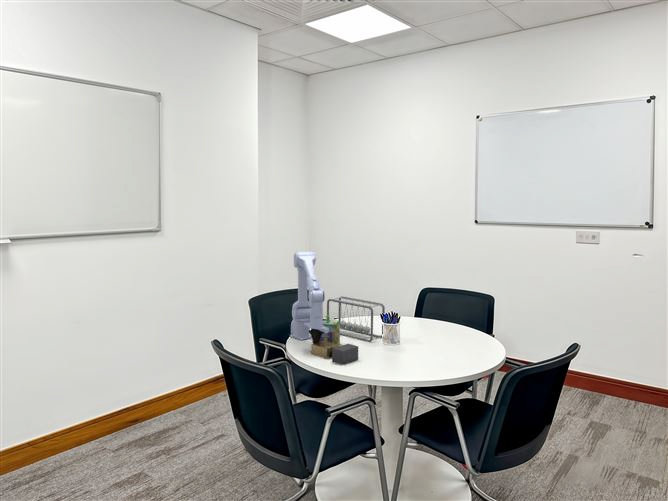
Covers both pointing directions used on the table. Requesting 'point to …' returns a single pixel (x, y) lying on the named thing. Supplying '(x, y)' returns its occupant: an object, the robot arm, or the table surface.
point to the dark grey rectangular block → (344, 354)
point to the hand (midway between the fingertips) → (316, 345)
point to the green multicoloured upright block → (331, 331)
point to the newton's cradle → (360, 327)
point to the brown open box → (322, 348)
